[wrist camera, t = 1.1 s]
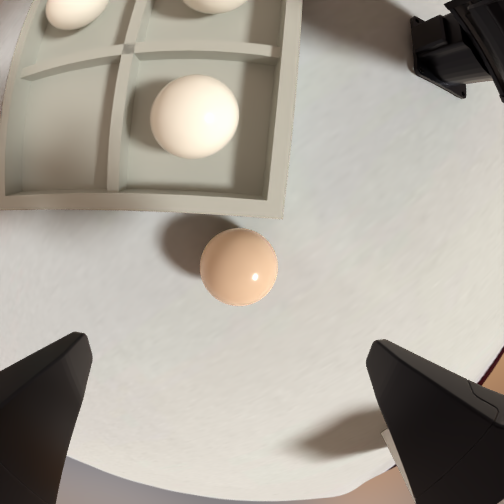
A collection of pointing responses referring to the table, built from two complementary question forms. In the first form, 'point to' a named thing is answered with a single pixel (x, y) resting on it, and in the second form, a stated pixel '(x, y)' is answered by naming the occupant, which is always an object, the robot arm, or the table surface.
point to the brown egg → (238, 267)
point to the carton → (148, 109)
